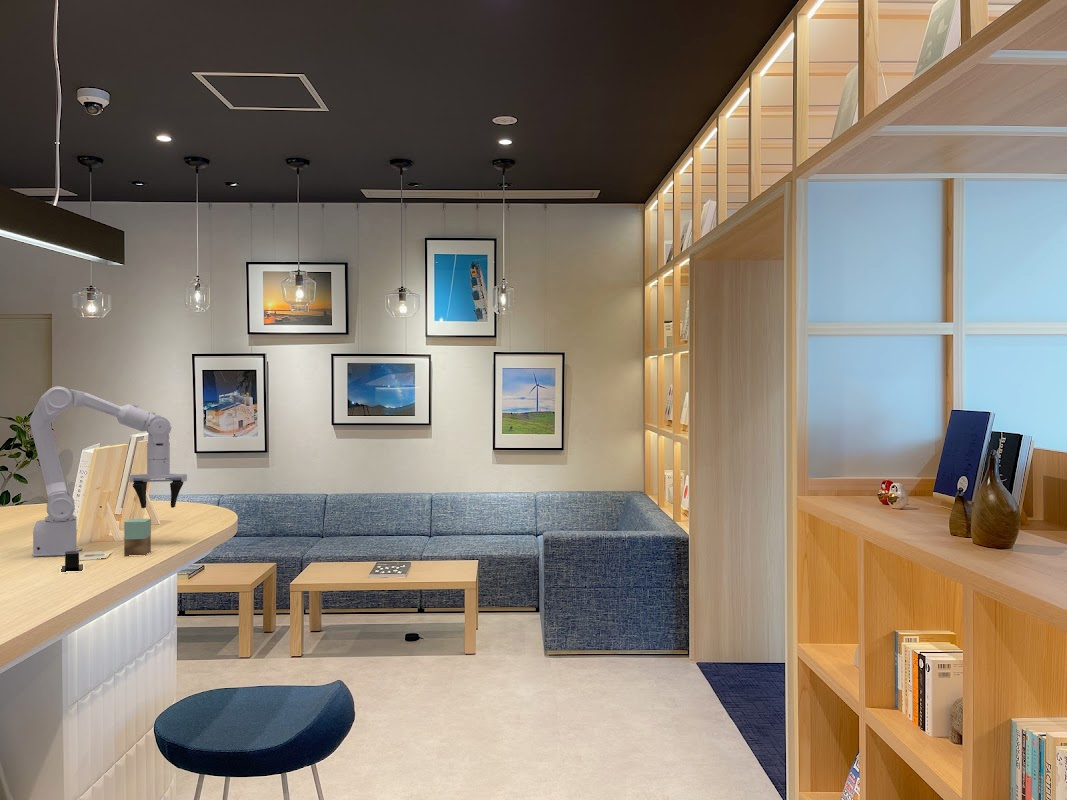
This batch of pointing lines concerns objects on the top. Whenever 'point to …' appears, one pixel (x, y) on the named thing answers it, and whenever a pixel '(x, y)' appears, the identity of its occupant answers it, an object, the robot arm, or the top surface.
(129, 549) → the walnut block
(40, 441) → the robot arm
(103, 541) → the top surface
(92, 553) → the page
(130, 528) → the teal block
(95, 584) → the top surface
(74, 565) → the black block with base
